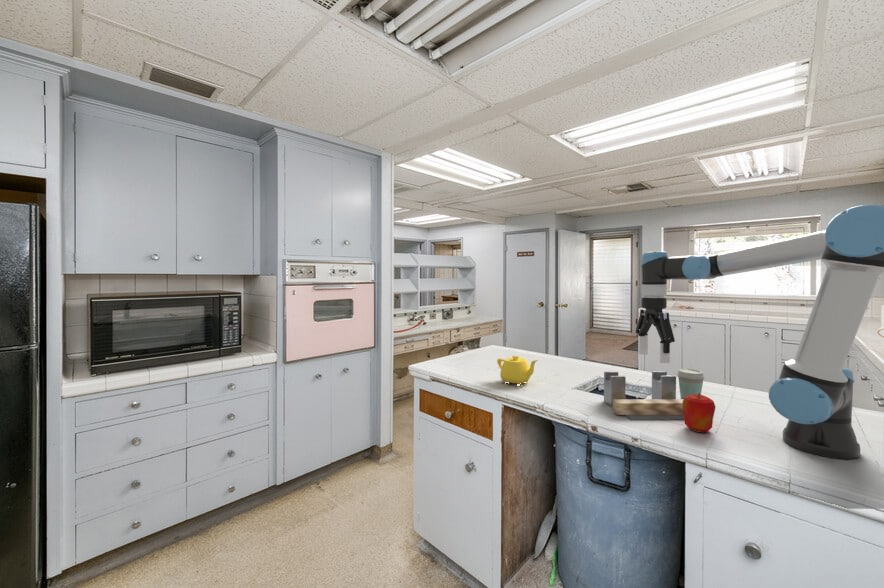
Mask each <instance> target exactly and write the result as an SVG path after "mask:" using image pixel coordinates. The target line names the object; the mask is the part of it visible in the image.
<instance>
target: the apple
mask: <svg viewBox="0 0 884 588" xmlns="http://www.w3.org/2000/svg"><path fill="white" fill-rule="evenodd" d="M714 401H715V400H713V399H711V398H710V397H708V396H707V395H703V394H701V395H700V393H699V394H694V395H688V396H686V397H685V398H684V400H683V401H682V403H683V412H684V420H683V421H684V424H685V426H686V427H687V428H689V429H690V430H692V431H694V432H697V433H707V432H709V431H710V430H712V428H713V422H714V416H715V412H716V404H715V402H714Z"/></svg>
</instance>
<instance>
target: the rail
mask: <svg viewBox="0 0 884 588" xmlns="http://www.w3.org/2000/svg"><path fill="white" fill-rule="evenodd" d="M683 400H684V399H681V398H680V399H678V398H676V399H652V398H650V399H649V398H648V399H647V398H644V399H641V398H640V399H638V398H636V399H634V398H633V399H627V398H625V399H613V406H612V412H613V413H614V414H616V415H618V416H625V415H684V412H683V403H682V401H683Z"/></svg>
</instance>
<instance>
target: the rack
mask: <svg viewBox="0 0 884 588" xmlns="http://www.w3.org/2000/svg"><path fill="white" fill-rule="evenodd" d="M626 381H627V380H626V375H619V371H603V402H604V401H605V402H606V403H605V402H604V403H605V404H606V405H608V406H609V408H611V407H612V406H613V399H626V386H627V385H626ZM651 399H677V375H668V372H667V371H665V370H664V371H655V370H654V371H651Z"/></svg>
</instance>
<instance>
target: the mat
mask: <svg viewBox="0 0 884 588" xmlns="http://www.w3.org/2000/svg"><path fill="white" fill-rule="evenodd" d="M624 416H625V417H626V418H627V419H628V420H630V421H684V415H624Z"/></svg>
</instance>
